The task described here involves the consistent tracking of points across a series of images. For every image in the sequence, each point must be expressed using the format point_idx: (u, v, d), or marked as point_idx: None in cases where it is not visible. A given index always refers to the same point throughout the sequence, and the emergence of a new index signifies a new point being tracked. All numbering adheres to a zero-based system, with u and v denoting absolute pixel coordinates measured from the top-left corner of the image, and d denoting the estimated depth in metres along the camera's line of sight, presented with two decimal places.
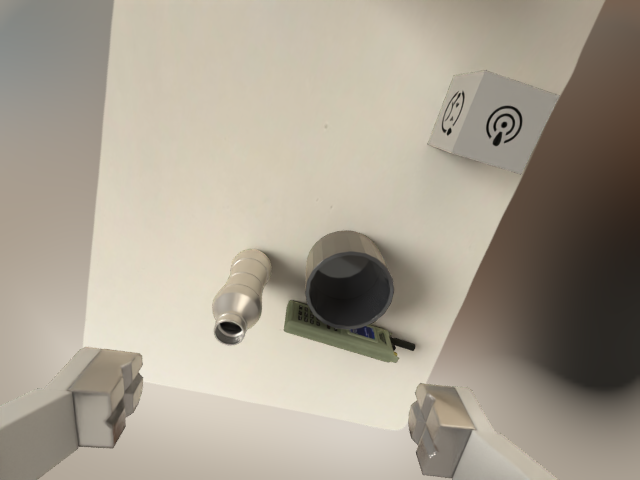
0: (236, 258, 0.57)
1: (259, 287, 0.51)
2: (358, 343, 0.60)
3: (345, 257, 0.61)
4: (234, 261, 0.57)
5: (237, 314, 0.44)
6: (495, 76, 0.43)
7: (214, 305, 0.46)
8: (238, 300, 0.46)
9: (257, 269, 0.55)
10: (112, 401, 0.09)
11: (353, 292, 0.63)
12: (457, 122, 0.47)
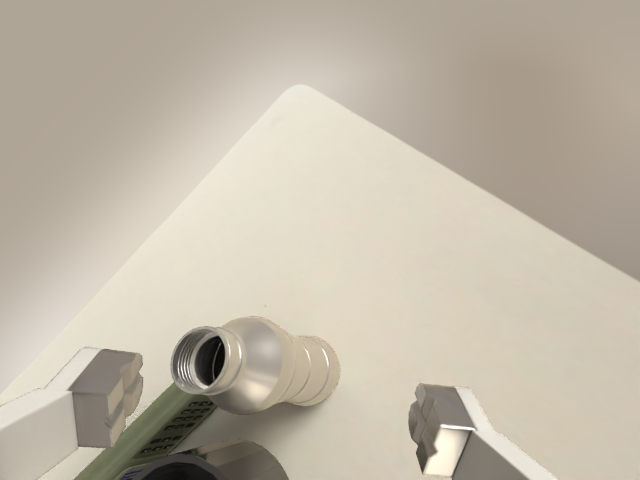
0: (333, 362, 0.34)
1: None
2: None
3: None
4: (330, 357, 0.34)
5: (226, 388, 0.20)
6: None
7: (271, 335, 0.23)
8: (255, 390, 0.22)
9: (299, 399, 0.30)
10: (113, 401, 0.09)
11: None
12: None
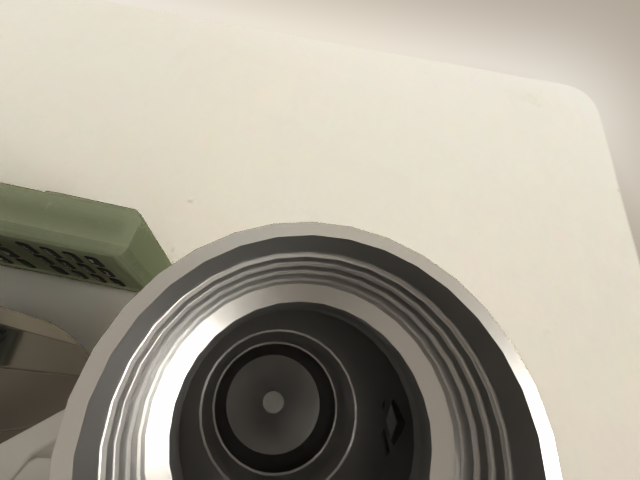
0: None
1: None
2: None
3: None
4: None
5: None
6: None
7: None
8: None
9: None
10: None
11: None
12: None
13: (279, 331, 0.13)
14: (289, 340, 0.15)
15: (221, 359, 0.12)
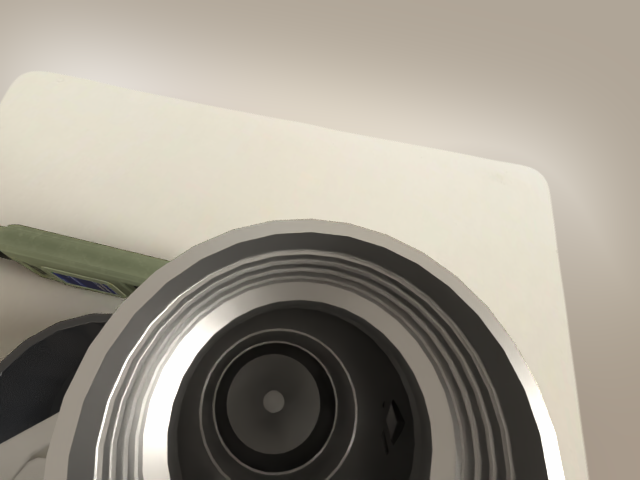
0: None
1: None
2: (82, 265, 0.28)
3: None
4: None
5: None
6: None
7: None
8: None
9: None
10: None
11: None
12: None
13: (279, 330, 0.13)
14: (289, 339, 0.15)
15: (221, 358, 0.12)
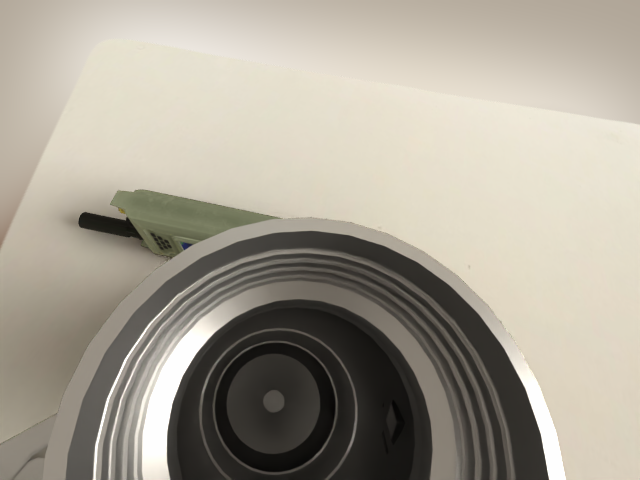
0: None
1: None
2: None
3: None
4: None
5: None
6: None
7: None
8: None
9: None
10: None
11: None
12: None
13: (279, 330, 0.13)
14: (289, 339, 0.15)
15: (221, 358, 0.12)
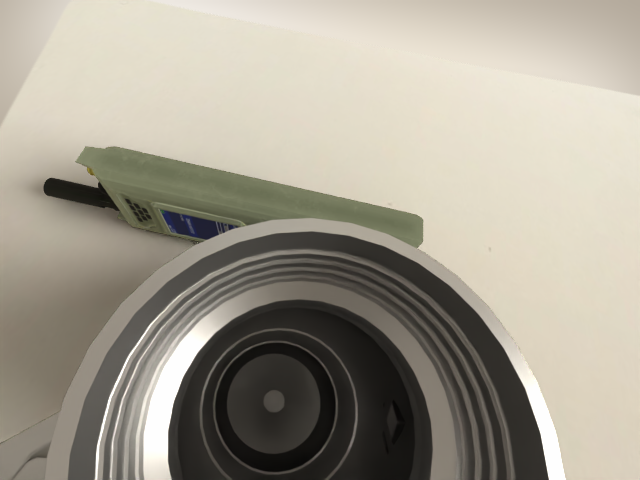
0: None
1: None
2: (211, 197, 0.21)
3: None
4: None
5: None
6: None
7: None
8: None
9: None
10: None
11: None
12: None
13: (279, 330, 0.13)
14: (290, 339, 0.15)
15: (221, 358, 0.12)
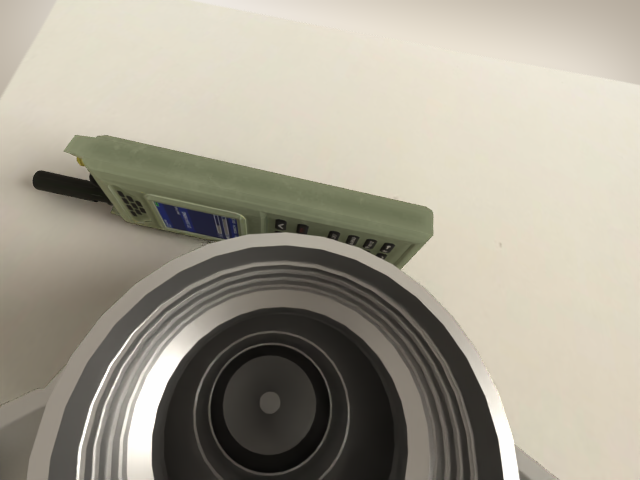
0: None
1: None
2: (208, 188, 0.19)
3: None
4: None
5: None
6: None
7: None
8: None
9: None
10: None
11: None
12: None
13: (273, 333, 0.13)
14: (284, 341, 0.15)
15: (215, 360, 0.12)
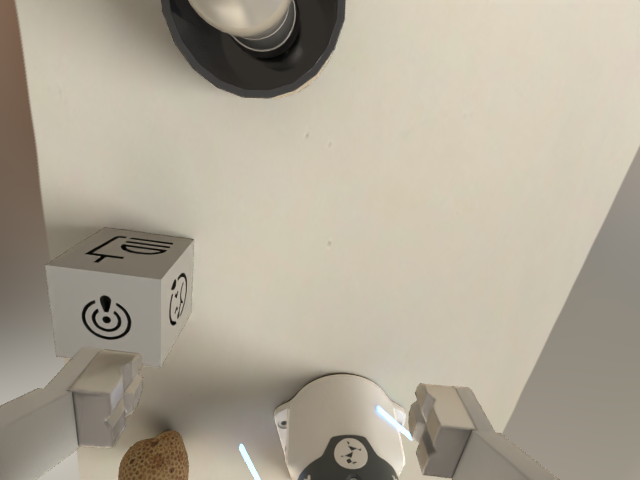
0: (288, 43, 0.31)
1: None
2: None
3: None
4: (291, 37, 0.30)
5: None
6: (145, 363, 0.36)
7: None
8: (226, 11, 0.19)
9: (237, 37, 0.28)
10: (112, 401, 0.09)
11: None
12: (168, 303, 0.36)
13: None
14: None
15: None
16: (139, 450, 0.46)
